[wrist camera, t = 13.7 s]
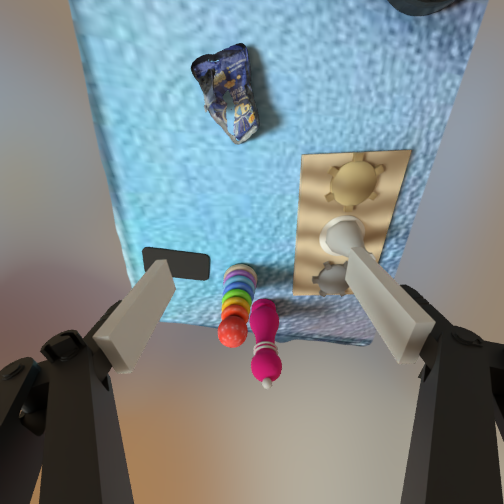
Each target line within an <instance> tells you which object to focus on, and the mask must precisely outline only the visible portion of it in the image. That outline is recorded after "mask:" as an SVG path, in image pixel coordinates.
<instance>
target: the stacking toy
mask: <svg viewBox="0 0 504 504" xmlns="http://www.w3.org/2000/svg"><path fill="white" fill-rule="evenodd" d="M256 284H257V274H256V272H255V271H254V270H253V269H252V268H251V267H249V266H247V265H244V264H237V265H233V266H231V267H230V268H228V269H227V271H226V272H225V275H224V282H223V285H224V286H223V298H222V304H223V305H222V314H221V318H222V322H221V323H220V325H219V327H218V337H219V340H220V341H221V343H222V344H223V345H225V346H227V347H230V348H234V347H238V346H240V345H241V344H242V343H243V342H244V341H245V339H246V337H247V333H248V330H247V325H246V323H247V322H248V319H249V313H250V307H251V304H252V301H253V299H254V294H255V289H256Z"/></svg>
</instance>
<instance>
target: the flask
mask: <svg viewBox="0 0 504 504" xmlns="http://www.w3.org/2000/svg"><path fill="white" fill-rule="evenodd" d="M325 243H326V244H327V245H328V247H329V248H330V250H331V251H332V252H334V253H337V254H340V255H343V256H345V257H348V258H349V253H350V248H352V247H362V248H363V249H364V250H365V251H366V252H367V253H368V254H369V255H370V256H371V257H372V258H373V259H374V260H375V261H376V258H375V256H374V255H373V253H371V252H368V251H367V250H366V248H365V245H364V241H363V235H362V231H361V229H360V227H359V226H358V224H357V222H356V221H340V222H338V223H336V224H335V225H333V226H332V227H330V228H329V229H327V235H326V241H325Z"/></svg>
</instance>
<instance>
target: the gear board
mask: <svg viewBox="0 0 504 504" xmlns="http://www.w3.org/2000/svg"><path fill="white" fill-rule="evenodd" d="M411 151H412V150H390V151H369V152H347V153H326V154H304V155H302V157H301V172H300V187H299V202H298V217H297V232H296V247H295V262H294V276H293V291H292V292H293V296H295V295H321V296H323V297H325V296H326V295H341V297H342V296H344V295H346V294H354V293H353V291H352V290H351V288H350V287H349V285H348V284H347V282H346V280H345V277H346V271H347V265H348V259H349V258H348V257H345V256H343V255H340V254H337V253H334V252H332V251H331V250H330V248H329V247H328V245H327V244H326V243H325V241H326V235H327V229H329V228H330V227H332V226H333V225H335V224H336V223H338V222H340V221H356V222H357V224H358V226H359V227H360V229H361V231H362V235H363V241H364V245H365V248H366V250H367V251H368V252H371V253H373V255H374V256H375V258H376V262H377V263H378V261H379V258H380V254H381V251H382V248H383V244H384V241H385V238H386V234H387V231H388V228H389V224H390V221H391V218H392V214H393V211H394V208H395V204H396V201H397V197H398V194H399V191H400V187H401V184H402V181H403V177H404V174H405V171H406V167H407V164H408V161H409V157H410V154H411Z"/></svg>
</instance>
